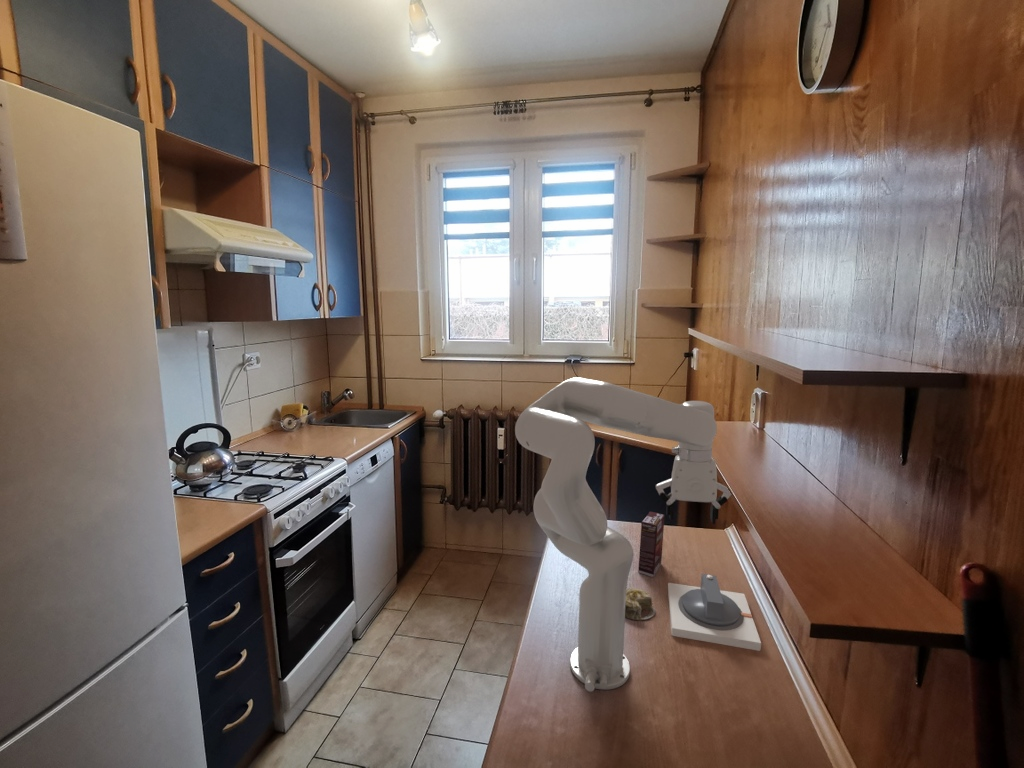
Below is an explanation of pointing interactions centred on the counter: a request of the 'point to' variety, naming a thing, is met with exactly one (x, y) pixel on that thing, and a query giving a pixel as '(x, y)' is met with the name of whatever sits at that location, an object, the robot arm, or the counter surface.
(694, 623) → the dial plate
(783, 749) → the counter surface
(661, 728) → the counter surface
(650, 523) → the supplement box
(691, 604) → the dial
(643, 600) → the cake
